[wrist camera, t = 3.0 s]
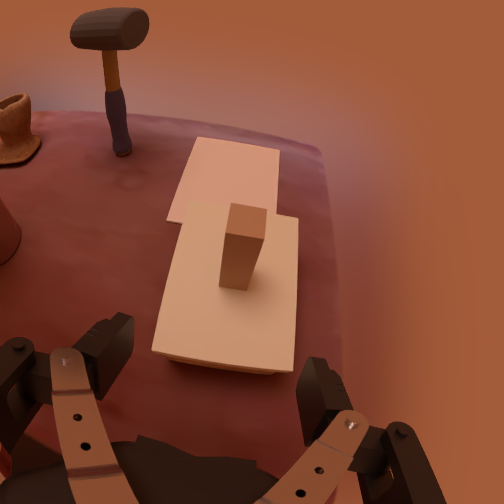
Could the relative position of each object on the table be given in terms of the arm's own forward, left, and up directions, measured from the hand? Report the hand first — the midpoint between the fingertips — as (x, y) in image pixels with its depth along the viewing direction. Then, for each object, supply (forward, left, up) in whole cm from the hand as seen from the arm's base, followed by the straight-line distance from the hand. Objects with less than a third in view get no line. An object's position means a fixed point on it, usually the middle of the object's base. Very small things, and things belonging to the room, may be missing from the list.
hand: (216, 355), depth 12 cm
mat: (+27, +21, -24) cm, 41 cm away
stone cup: (0, +67, -24) cm, 71 cm away
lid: (+10, +6, -17) cm, 20 cm away
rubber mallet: (+18, +42, -24) cm, 51 cm away
